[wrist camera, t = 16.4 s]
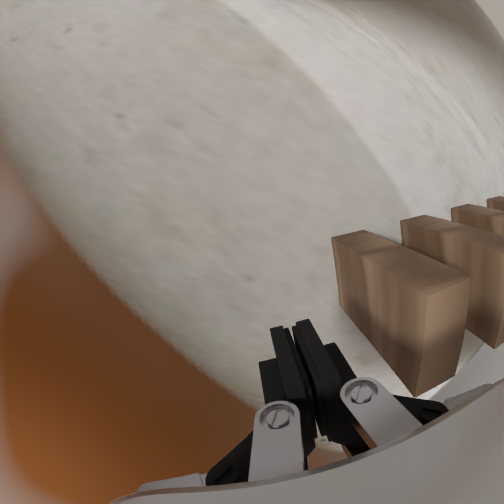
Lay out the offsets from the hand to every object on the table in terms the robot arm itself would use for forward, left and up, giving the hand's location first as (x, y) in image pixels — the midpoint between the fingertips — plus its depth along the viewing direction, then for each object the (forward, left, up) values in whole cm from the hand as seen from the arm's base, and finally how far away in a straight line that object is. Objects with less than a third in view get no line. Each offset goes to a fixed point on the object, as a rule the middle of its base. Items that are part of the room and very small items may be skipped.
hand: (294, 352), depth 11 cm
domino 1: (+6, 0, -7) cm, 9 cm away
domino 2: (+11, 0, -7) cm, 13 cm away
